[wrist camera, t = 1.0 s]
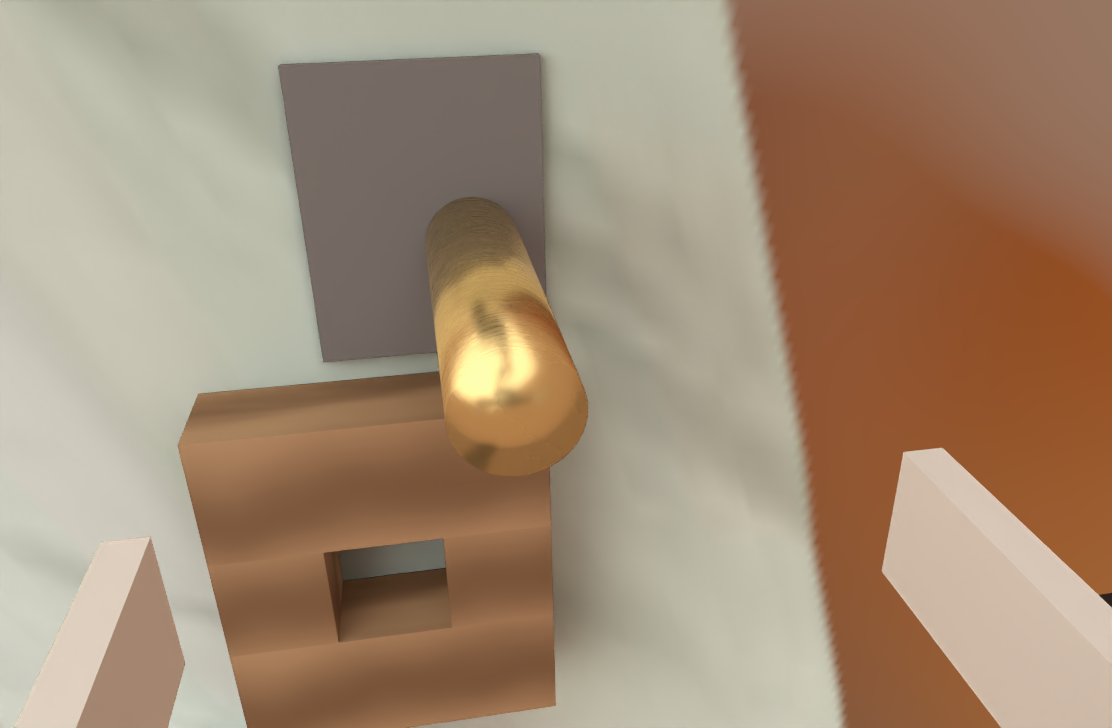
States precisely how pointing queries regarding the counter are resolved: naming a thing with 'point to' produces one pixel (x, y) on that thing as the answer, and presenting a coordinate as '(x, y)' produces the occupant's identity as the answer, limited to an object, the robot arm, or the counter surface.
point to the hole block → (359, 522)
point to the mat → (405, 181)
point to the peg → (498, 345)
